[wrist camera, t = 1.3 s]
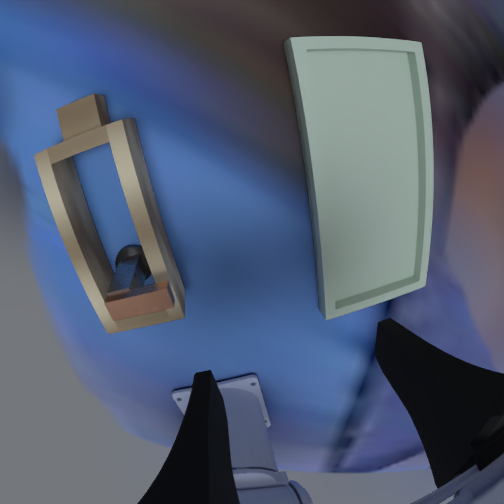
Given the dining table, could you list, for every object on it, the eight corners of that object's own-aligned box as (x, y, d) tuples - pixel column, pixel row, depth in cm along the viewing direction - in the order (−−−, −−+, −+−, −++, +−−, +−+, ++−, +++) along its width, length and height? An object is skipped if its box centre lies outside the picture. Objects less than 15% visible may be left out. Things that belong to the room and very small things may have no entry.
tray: (415, 277, 25) (425, 286, 24) (319, 309, 24) (326, 320, 23) (408, 44, 16) (421, 42, 15) (283, 42, 15) (290, 37, 14)
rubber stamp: (180, 268, 21) (178, 317, 16) (124, 282, 20) (109, 332, 15) (169, 234, 19) (162, 276, 15) (111, 250, 19) (89, 294, 14)
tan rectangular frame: (185, 290, 21) (184, 317, 18) (116, 306, 21) (108, 333, 18) (127, 87, 15) (113, 82, 12) (49, 118, 15) (25, 121, 12)
